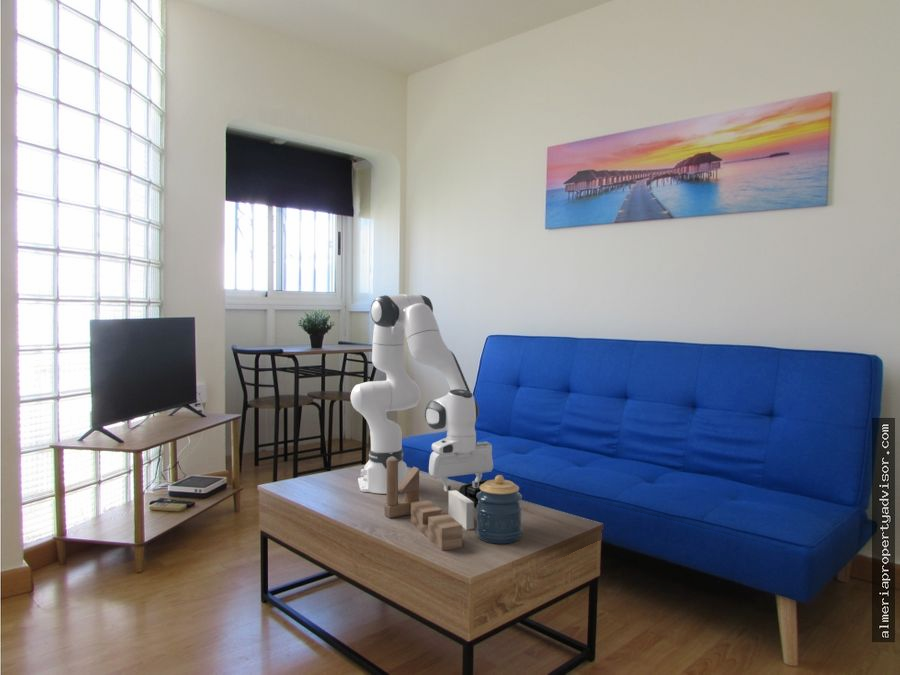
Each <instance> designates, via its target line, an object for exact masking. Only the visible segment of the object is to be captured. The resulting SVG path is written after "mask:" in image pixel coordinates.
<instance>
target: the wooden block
mask: <svg viewBox="0 0 900 675" xmlns="http://www.w3.org/2000/svg"><path fill="white" fill-rule="evenodd" d="M401 494H404V501H399V495H401ZM419 501H420V468H418V467H416V466H412V468H411V469H410V471H409V472H407V476H406V477H405V478H404V480H403V481H402V482H401V483H400V485H399V486H398V459H396V458H389V459H387V494H386V503H385V504H384V516H385V517H387V518H389V519H393V518H397V517H402V516H403V517H404V516H407V515H411V502H419Z"/></svg>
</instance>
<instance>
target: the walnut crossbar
mask: <svg viewBox="0 0 900 675" xmlns="http://www.w3.org/2000/svg"><path fill="white" fill-rule="evenodd" d="M434 503H435V502H432V501H431V500H429V499H428V500H419V502H411V514H410V523H411V524H412V525H414V527H415V528H416V529H418V530H419V531H420V532H422V534H423V535H425V536H426V537H427V538H428V539H429V541H431V542H432V543H433V544H434V545H435V546H436V547H437V548H439V549H440V550H441V551H447V550H452V549H457V548H462V547H463V527H462V525H461V524H460V523H458V522H457V521H456V520H454V519H453V518H452V517H451V516H449V515H448V513H446V514H443V509H441V508H440V507H439V506H437V505H436V504H434Z"/></svg>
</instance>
